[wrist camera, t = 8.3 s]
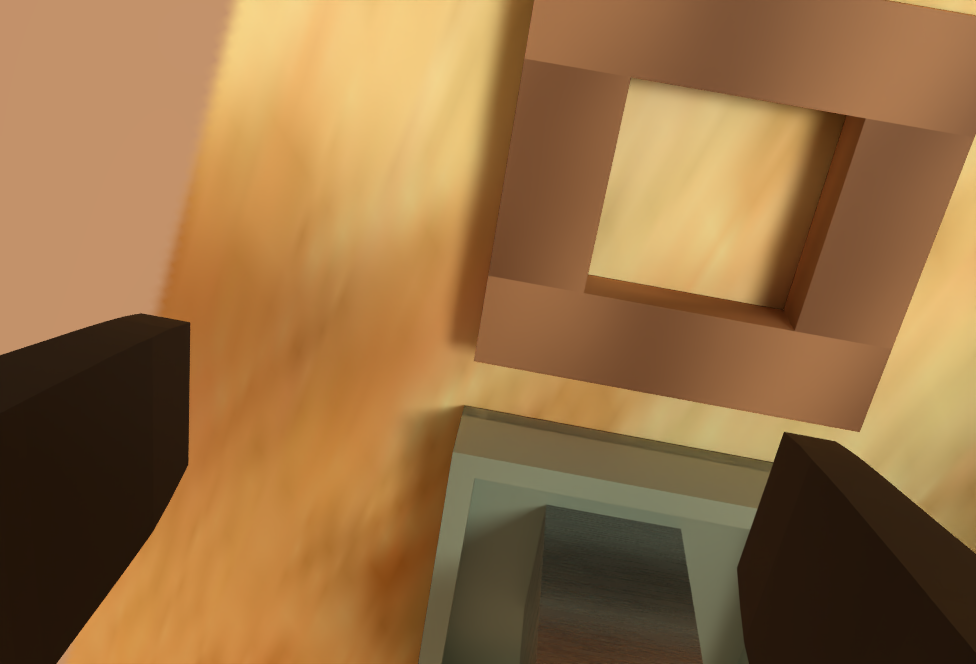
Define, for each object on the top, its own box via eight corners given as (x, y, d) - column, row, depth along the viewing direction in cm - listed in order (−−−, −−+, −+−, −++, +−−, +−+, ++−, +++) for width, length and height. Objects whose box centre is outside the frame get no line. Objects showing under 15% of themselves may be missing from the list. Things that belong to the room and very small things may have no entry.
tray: (825, 472, 22) (848, 525, 20) (727, 731, 26) (738, 797, 24) (464, 405, 22) (452, 452, 20) (420, 671, 26) (407, 732, 24)
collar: (991, 18, 18) (1018, 23, 17) (845, 406, 21) (859, 432, 20) (546, -59, 18) (543, -58, 17) (479, 339, 22) (474, 361, 21)
